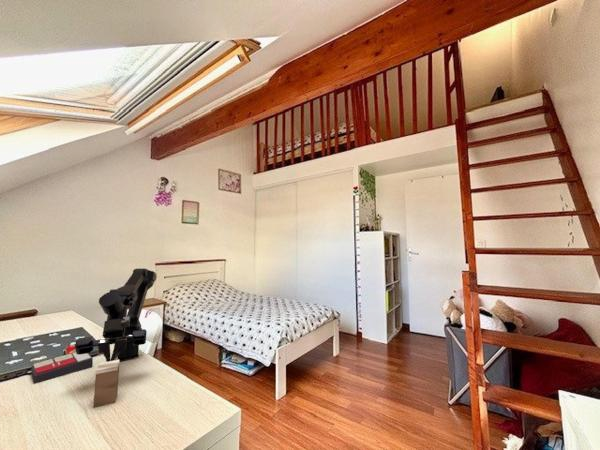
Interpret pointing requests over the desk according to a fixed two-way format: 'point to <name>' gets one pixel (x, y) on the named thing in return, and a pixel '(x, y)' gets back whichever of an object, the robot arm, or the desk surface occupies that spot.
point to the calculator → (60, 366)
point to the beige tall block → (106, 383)
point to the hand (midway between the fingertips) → (109, 367)
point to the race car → (70, 349)
